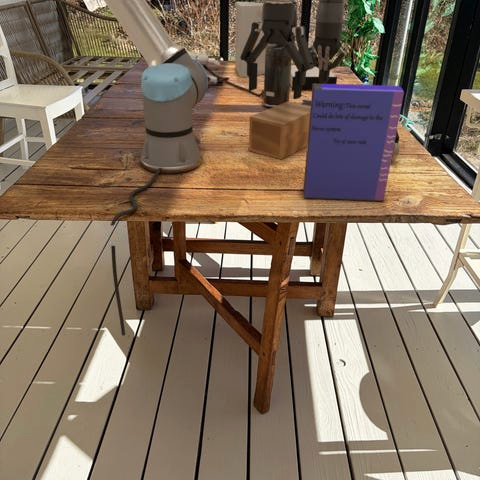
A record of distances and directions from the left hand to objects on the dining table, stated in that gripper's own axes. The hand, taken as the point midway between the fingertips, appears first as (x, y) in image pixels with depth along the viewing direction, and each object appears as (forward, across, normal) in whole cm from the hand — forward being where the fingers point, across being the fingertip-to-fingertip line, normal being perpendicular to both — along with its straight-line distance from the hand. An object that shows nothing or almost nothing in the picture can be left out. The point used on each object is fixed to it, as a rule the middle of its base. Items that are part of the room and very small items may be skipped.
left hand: (274, 93), depth 123 cm
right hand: (+2, 0, -28) cm, 28 cm away
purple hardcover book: (+16, -28, +13) cm, 35 cm away
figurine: (+16, +67, -44) cm, 82 cm away
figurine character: (+16, -25, -16) cm, 34 cm away
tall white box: (+16, +62, -80) cm, 102 cm away
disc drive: (+16, +31, -77) cm, 85 cm away
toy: (+16, +91, -69) cm, 115 cm away
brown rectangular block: (+16, 0, -6) cm, 17 cm away
